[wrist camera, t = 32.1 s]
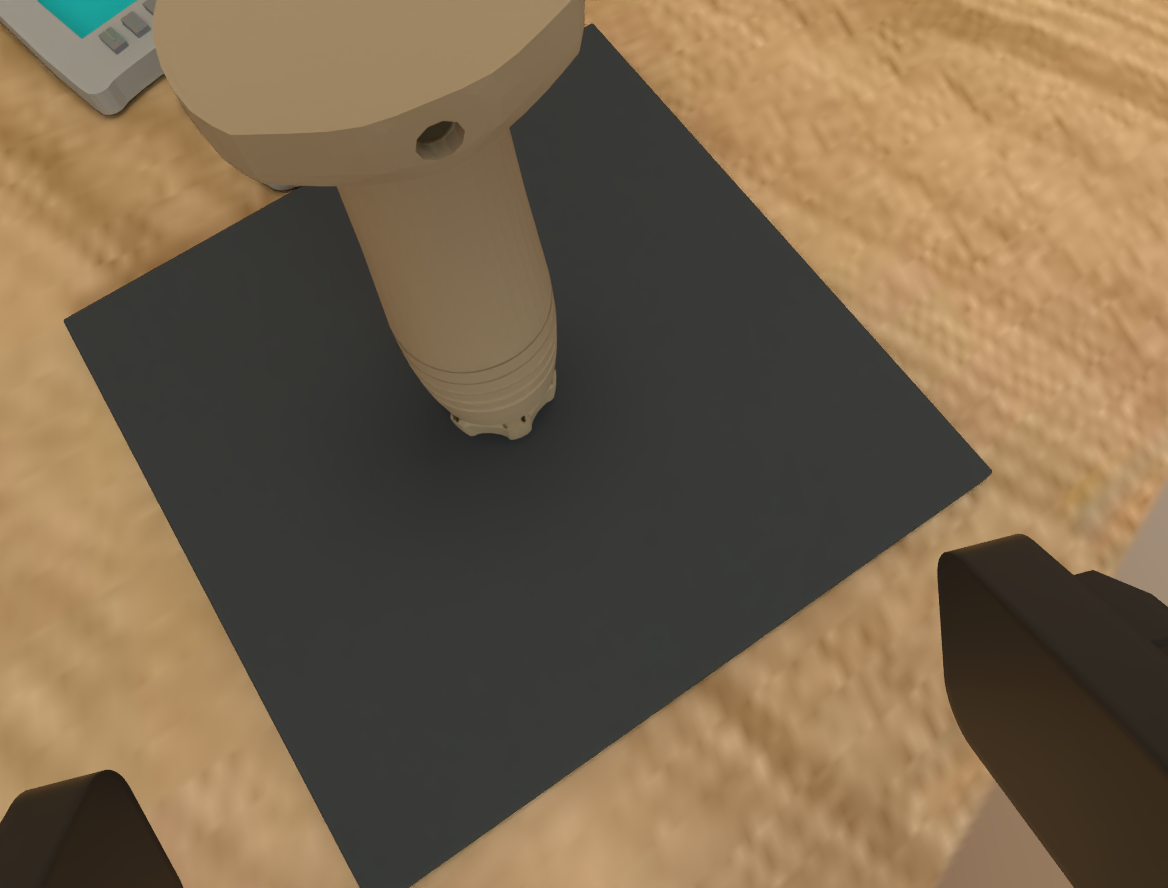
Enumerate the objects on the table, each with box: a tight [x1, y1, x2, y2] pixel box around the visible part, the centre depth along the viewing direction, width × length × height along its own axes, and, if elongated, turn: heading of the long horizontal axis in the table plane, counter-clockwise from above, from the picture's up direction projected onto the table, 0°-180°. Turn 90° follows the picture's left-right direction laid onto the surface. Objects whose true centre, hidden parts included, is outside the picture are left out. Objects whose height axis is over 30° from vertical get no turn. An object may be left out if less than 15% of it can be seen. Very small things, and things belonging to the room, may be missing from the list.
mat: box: [64, 24, 992, 888], centre depth 28 cm, size 20×20×1 cm
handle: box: [153, 0, 585, 440], centre depth 21 cm, size 5×6×15 cm
